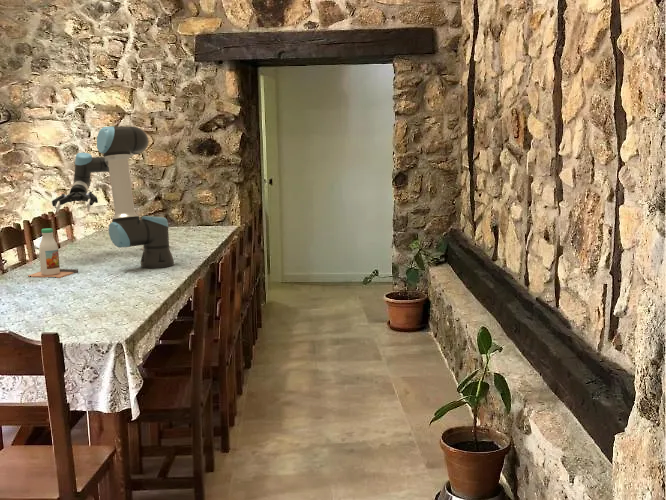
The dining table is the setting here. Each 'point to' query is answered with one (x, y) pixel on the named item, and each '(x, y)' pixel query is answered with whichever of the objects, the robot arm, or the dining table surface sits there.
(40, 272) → the tile
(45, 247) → the milk bottle
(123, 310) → the dining table surface
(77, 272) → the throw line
